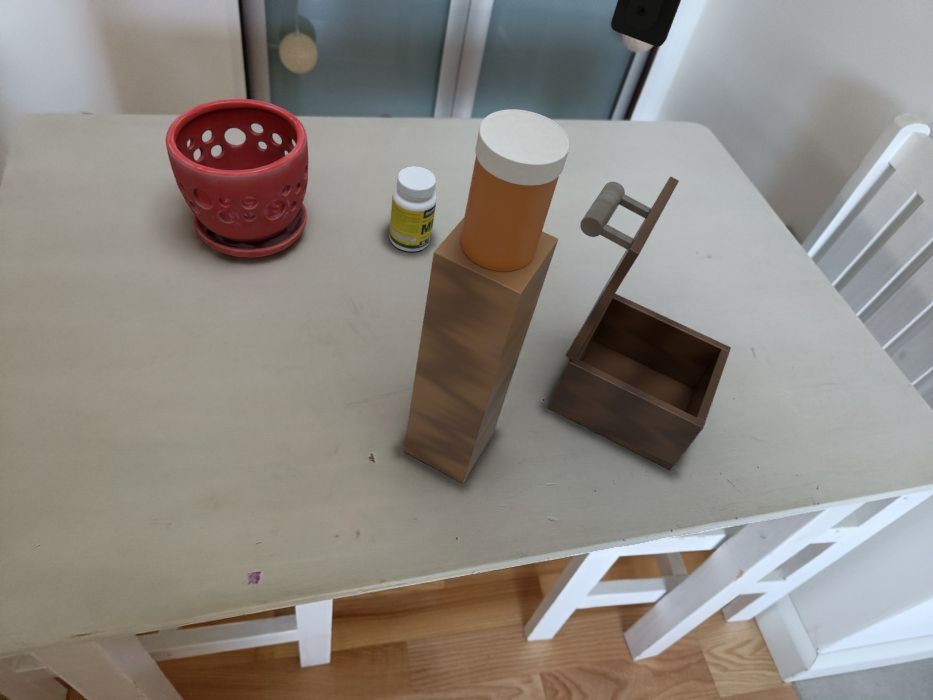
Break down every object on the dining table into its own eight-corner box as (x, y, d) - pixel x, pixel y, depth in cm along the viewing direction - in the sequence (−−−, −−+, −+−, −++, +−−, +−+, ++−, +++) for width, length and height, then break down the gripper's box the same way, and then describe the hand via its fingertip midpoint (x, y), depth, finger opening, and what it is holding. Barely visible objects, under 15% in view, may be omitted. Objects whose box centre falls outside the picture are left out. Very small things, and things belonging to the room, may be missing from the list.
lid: (679, 180, 56) (624, 151, 56) (639, 254, 49) (578, 220, 50) (613, 288, 66) (567, 263, 67) (573, 360, 60) (523, 332, 60)
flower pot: (319, 196, 80) (317, 104, 71) (299, 276, 72) (293, 183, 62) (204, 181, 79) (186, 84, 69) (169, 261, 70) (144, 163, 61)
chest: (699, 391, 70) (731, 347, 64) (670, 470, 63) (703, 428, 58) (586, 337, 72) (607, 289, 67) (547, 407, 66) (567, 361, 60)
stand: (493, 433, 63) (558, 238, 45) (462, 483, 59) (520, 293, 41) (436, 403, 64) (477, 201, 46) (403, 451, 60) (433, 251, 42)
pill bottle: (549, 239, 44) (583, 132, 38) (516, 285, 41) (548, 176, 35) (480, 208, 45) (503, 98, 39) (444, 250, 42) (463, 138, 36)
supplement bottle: (424, 257, 76) (432, 197, 70) (383, 246, 76) (387, 185, 70) (435, 230, 79) (444, 170, 73) (396, 219, 79) (401, 158, 73)
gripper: (877, -386, 23) (680, 88, 36) (910, -380, 34) (749, -16, 47) (666, -434, 24) (551, 37, 37) (762, -414, 35) (646, -52, 48)
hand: (661, 8), depth 42 cm, fingers open, 9 cm apart
